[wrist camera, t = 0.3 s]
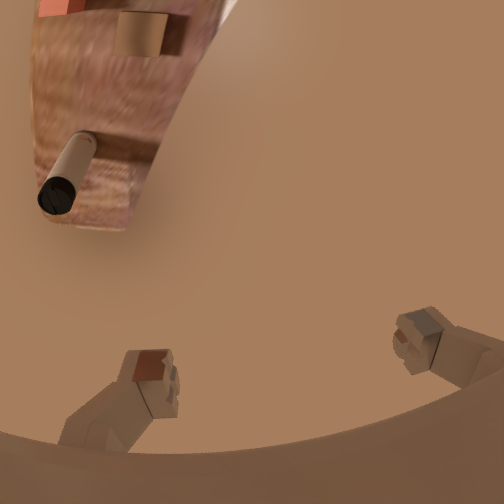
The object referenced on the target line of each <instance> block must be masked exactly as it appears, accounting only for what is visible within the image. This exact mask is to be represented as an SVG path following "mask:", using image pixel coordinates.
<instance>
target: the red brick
mask: <svg viewBox="0 0 504 504" xmlns="http://www.w3.org/2000/svg"><path fill="white" fill-rule="evenodd" d="M85 4H86V0H41V3H40V9H39V16H38V17H44V16H53V15H64V14H70V13H75V12H80V11H84V9H85Z"/></svg>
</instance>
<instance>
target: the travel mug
mask: <svg viewBox="0 0 504 504" xmlns="http://www.w3.org/2000/svg"><path fill="white" fill-rule="evenodd" d="M96 149H97V140H96V138H95V136H94V135H93V134H91V133H90V132H87V131H79V132H77V133H75V134H74V135H73V136H72V137H71V139H70V140H69V142H68V143H67V145H66V147H65V148H64V150H63V151H62V153H61V155H60V156H59V158H58V160H57V161H56V163H55V165H54V166H53V168H52V170H51V172H50V173H49V175H48V177H47V179H46V181H45V182H44V185H43V187H42V189H41V190H40V192H39V194H38V203H39V206H40V207H41V208H42V209H43V210H44V211H45V212H47V213H49V214H51V215H57V214H58V215H61V214H65V213H67V212H69V211H70V210H71V207H72V205H73V202H74V200H75V198H76V195H77V193H78V190H79V188H80V186H81V183H82V181H83V178H84V176H85V174H86V171H87V169H88V167H89V165H90V162H91V160H92V158H93V156H94V154H95V152H96Z"/></svg>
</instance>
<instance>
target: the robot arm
mask: <svg viewBox="0 0 504 504" xmlns="http://www.w3.org/2000/svg"><path fill="white" fill-rule="evenodd" d="M396 325H397V327H398V329H397V331H396V332H395V333H394V337H393V348H394V350H395V353H396V354H397V356H398V357H400V358H402V359H404V365H405V367H406V368H407V369H408V370H409V372H410V373H411V375H415V374H418V373H421V372H425V371H427V370H430V371H431V372H433V373H435V374H437V375H438V376H440V377H442V378H444V379H445V380H447V381H449V382H451V383H452V384H454V385H456V386H458V387H460V388H461V390H459V391H457V392H455V393H452V394H450V395H448V396H445V397H443V398H441V399H439V400H437V401H434V402H432V403H429V404H426V405H424V406H421V407H419V408H416V409H413V410H411V411H408V412H405V413H402V414H400V415H397V416H394V417H391V418H388V419H385V420H382V421H379V422H375V423H372V424H369V425H365V426H362V427H358V428H355V429H351V430H347V431H343V432H340V433H336V434H331V435H327V436H323V437H318V438H314V439H309V440H304V441H299V442H293V443H288V444H282V445H276V446H269V447H262V448H255V449H246V450H237V451H226V452H212V453H192V454H144V453H142V454H141V453H127V452H128V451H129V450H130V448H131V447H132V446H133V445H134V443H135V442H136V441H137V440H138V438H139V437H140V436H141V435H142V433H143V432H144V431H145V430H146V428H147V427H148V426H149V424H150V423H151V422H152V421H153V419H159V418H177V413H178V400H177V398H176V396H177V395H178V394H179V390H180V389H179V388H180V385H179V376H178V371H177V368H176V367H175V366H173V355H172V352H171V350H170V349H156V350H155V349H153V350H129V351H127V352H126V354H125V357H124V360H123V363H122V366H121V369H120V373H119V375H118V379H117V382H112V383H111V384H110V385H108V386H107V387H106V388H104V389H103V390H102V391H101V392H100V393H98V394H97V395H96V396H95V397H93V398H92V399H91V400H90V401H88V402H87V403H86V404H85V405H83V406H82V407H81V408H80V409H78V410H77V411H76V412H75V413H73V414H72V415H71V416H69V417H68V418H67V420H66V422H65V425H64V428H63V431H62V433H61V436H60V439H59V442H58V444H52V443H46V442H41V441H37V440H32V439H28V438H24V437H19V436H15V435H12V434H8V433H4V432H1V431H0V504H504V341H501V340H498V339H496V338H493V337H489V336H486V335H484V334H480V333H478V332H474V331H471V330H468V329H466V328H463V327H460V326H457V327H455V326H454V325H453V324H452V323H451V322H450V321H449V320H448V319H447V318H445V317H444V316H443V315H442V314H441V313H440V312H439V311H438V310H437V309H435V307H432V306H429V307H426V308H423V309H420V310H416V311H413V312H408V313H405V314H401V315H399V316H398V318H397V322H396Z"/></svg>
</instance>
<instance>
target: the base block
mask: <svg viewBox="0 0 504 504" xmlns="http://www.w3.org/2000/svg"><path fill="white" fill-rule="evenodd" d="M168 18H169V14H168V13H157V12H140V11H122V12H120V14H119V19H118V24H117V30H116V36H115V42H114V49H113V56H137V57H152V58H159V56H160V54H161V49H162V44H163V40H164V35H165V31H166V26H167V22H168Z"/></svg>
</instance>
